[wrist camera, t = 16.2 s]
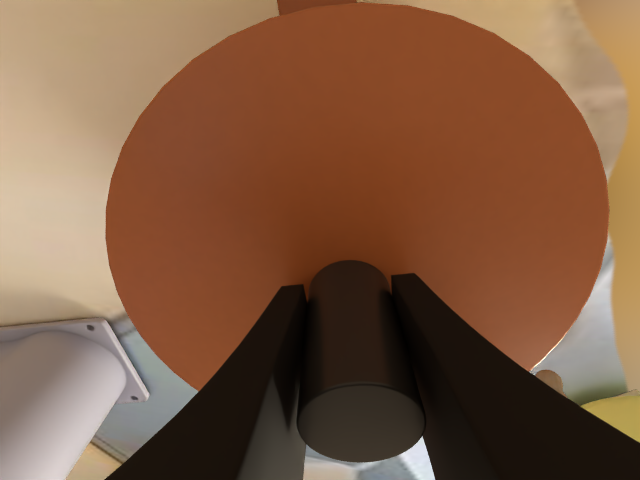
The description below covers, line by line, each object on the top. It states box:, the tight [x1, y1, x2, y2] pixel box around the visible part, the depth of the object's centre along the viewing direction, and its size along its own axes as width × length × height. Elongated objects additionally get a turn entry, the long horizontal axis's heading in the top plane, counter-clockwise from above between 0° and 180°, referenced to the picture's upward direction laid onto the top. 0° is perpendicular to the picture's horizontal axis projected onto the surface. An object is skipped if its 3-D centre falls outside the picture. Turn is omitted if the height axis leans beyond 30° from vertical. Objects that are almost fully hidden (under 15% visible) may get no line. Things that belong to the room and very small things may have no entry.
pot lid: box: [106, 2, 609, 462], centre depth 8 cm, size 14×14×5 cm
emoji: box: [580, 389, 640, 443], centre depth 24 cm, size 4×12×12 cm
